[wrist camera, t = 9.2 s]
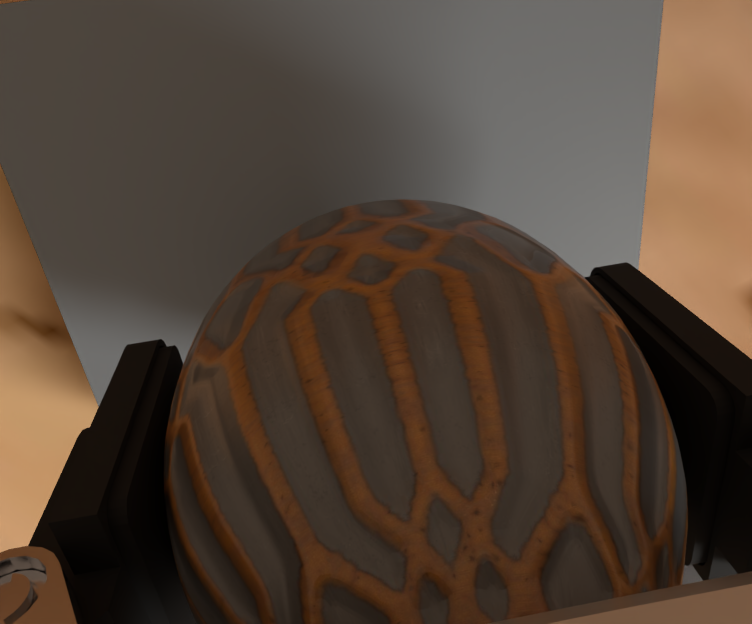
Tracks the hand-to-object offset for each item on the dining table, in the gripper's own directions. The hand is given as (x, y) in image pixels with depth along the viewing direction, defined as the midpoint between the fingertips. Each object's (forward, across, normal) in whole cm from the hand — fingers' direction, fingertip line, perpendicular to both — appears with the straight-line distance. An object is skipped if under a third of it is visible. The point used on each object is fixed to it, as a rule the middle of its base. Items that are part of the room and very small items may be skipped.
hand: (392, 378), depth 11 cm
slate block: (+9, 0, 0) cm, 9 cm away
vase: (+2, 0, 0) cm, 2 cm away
